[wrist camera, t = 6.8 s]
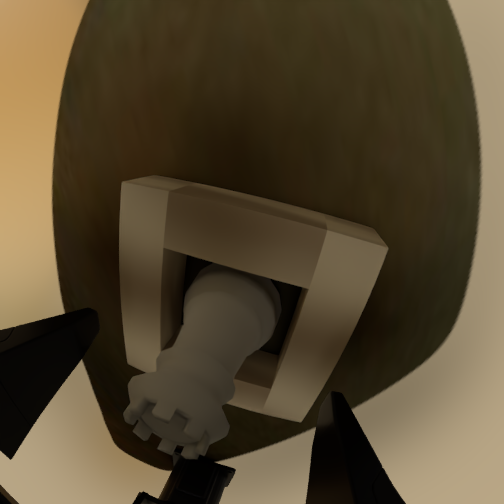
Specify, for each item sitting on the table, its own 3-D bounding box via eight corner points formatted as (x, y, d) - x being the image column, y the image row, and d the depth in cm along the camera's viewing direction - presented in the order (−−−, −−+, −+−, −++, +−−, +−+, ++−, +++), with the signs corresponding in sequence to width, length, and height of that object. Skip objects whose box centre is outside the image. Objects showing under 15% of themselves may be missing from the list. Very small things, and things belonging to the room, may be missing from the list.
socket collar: (304, 389, 14) (301, 422, 12) (148, 339, 16) (127, 363, 13) (373, 228, 11) (388, 248, 8) (154, 175, 12) (122, 181, 10)
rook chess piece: (259, 348, 14) (214, 483, 7) (184, 311, 14) (98, 422, 7) (299, 283, 12) (272, 442, 5) (210, 239, 12) (92, 349, 5)
